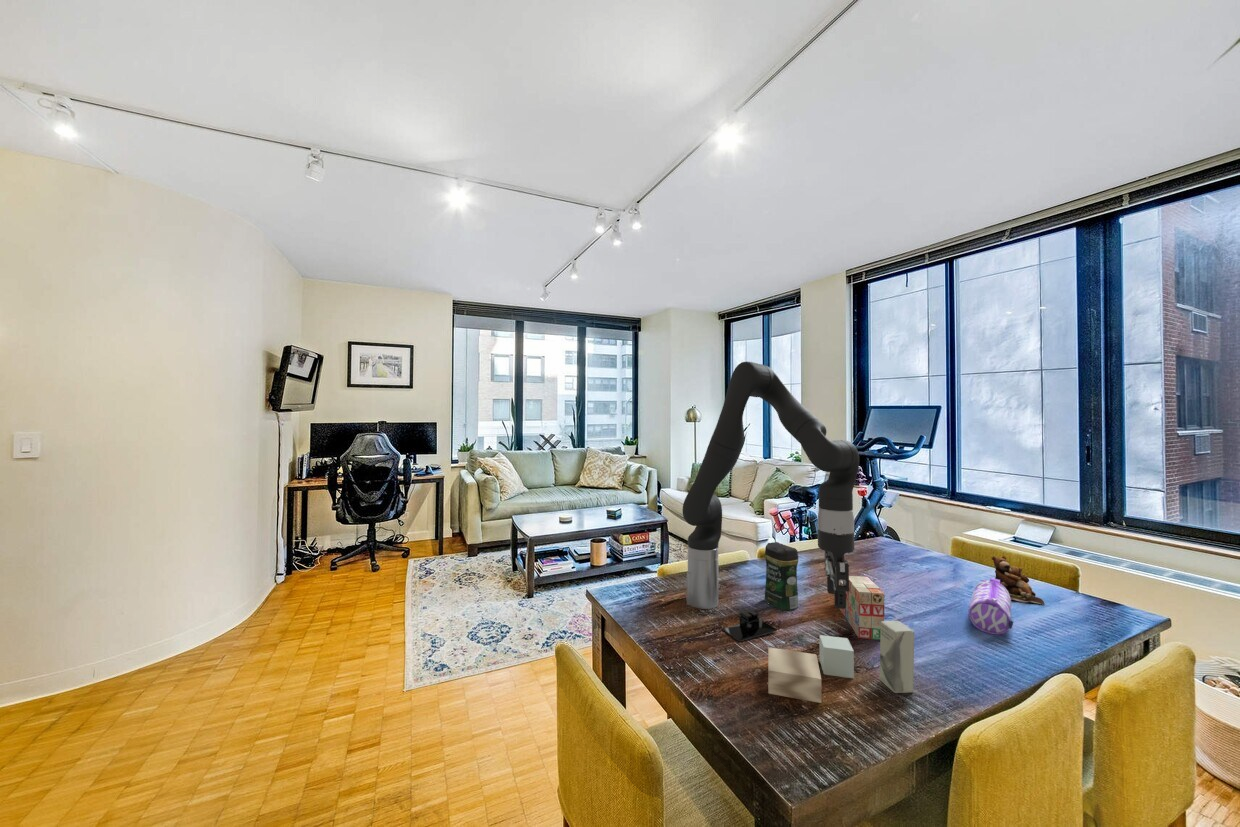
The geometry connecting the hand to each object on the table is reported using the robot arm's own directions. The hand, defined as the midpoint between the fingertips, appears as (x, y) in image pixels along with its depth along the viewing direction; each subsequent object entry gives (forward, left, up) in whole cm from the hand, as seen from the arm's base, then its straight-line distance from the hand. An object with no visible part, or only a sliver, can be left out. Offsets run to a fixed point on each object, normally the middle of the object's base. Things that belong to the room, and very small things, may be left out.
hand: (836, 600), depth 102 cm
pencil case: (+47, +39, -16) cm, 63 cm away
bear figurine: (+64, +63, -16) cm, 91 cm away
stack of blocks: (+11, +28, -16) cm, 34 cm away
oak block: (-10, -9, -16) cm, 21 cm away
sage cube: (0, 0, -16) cm, 16 cm away
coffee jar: (-9, +34, -16) cm, 38 cm away
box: (+11, -4, -16) cm, 19 cm away
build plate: (-18, +13, -17) cm, 28 cm away
